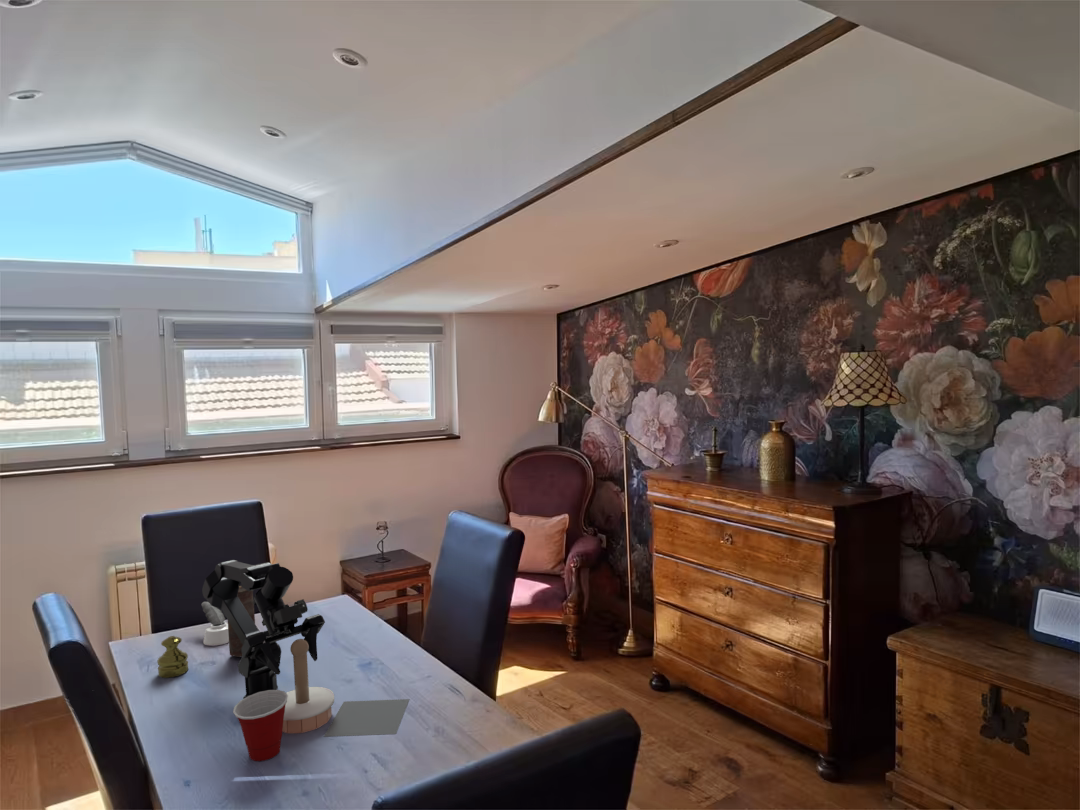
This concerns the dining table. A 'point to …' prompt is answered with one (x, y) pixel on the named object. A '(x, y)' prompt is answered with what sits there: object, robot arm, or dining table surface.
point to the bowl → (307, 723)
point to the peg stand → (305, 688)
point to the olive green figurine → (172, 659)
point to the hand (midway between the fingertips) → (298, 666)
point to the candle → (234, 641)
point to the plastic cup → (262, 722)
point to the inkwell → (215, 626)
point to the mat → (368, 718)
